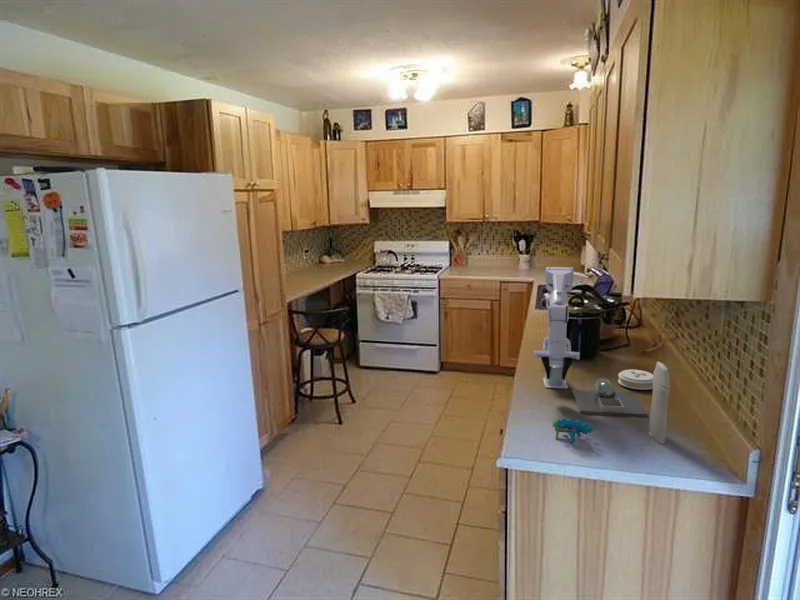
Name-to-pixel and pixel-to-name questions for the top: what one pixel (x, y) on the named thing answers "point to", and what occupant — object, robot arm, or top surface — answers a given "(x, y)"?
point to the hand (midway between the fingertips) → (555, 378)
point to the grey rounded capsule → (555, 375)
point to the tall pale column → (659, 403)
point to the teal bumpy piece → (571, 427)
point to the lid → (636, 379)
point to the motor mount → (608, 401)
